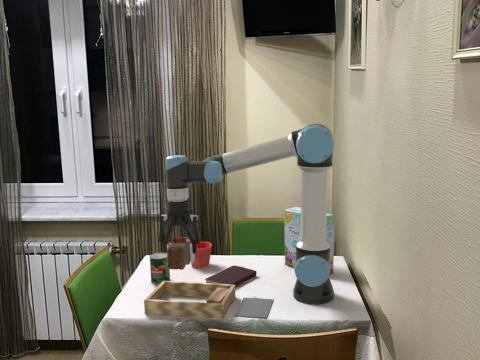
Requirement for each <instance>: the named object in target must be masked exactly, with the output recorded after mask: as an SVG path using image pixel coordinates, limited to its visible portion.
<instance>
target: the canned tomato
mask: <svg viewBox="0 0 480 360" xmlns="http://www.w3.org/2000/svg"><path fill="white" fill-rule="evenodd" d="M149 266H150V267H149V268H150V269H149V270H150V283H151V284H152V285H159V284H160V283H161V282H162V281H171V269H169V268H168V264H167V253H165V252H155V253H151V254H150V255H149Z"/></svg>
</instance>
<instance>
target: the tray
mask: <svg viewBox="0 0 480 360" xmlns="http://www.w3.org/2000/svg"><path fill="white" fill-rule="evenodd" d="M217 288H227V289H229V290H228V292H227V294H226V295H225V297H224V299H223V300H222V302H221V304H218V303H207V302H201V301H200V302H198V301H183V300H167V299H163V298H164V297H165V296H166V295H169V296H170V295H171V296H185V297H186V296H190V297H203V298H204V297H205V298H209V297H210V296H211V295H212V294H213V292H214V291H215V290H216V289H217ZM235 299H236V287H235V285H233V284H215V283H206V282H197V281H196V282H194V281H193V282H192V281H175V280H170V281H162V282H161V283H160V284H157V286H156V287H155V288H154V290H152V292H150V294H148V296H147V297H146V298H145V299H143V305H144V307H143V308H144V314H145V315H155V316H156V315H157V316H169V317H170V316H173V317H187V318H201V319H216V320H224V319H225V318H226V316H227V313H228V312H229V310H230V308H231V307H232V305H233V303H234V301H235ZM231 304H232V305H231Z"/></svg>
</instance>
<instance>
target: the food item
mask: <svg viewBox="0 0 480 360" xmlns="http://www.w3.org/2000/svg"><path fill="white" fill-rule="evenodd" d="M191 244H192V243H191V241H190V239H189V237H185V236H179V237H174V238H173V239H172V242H171V245H170V246H169V247H168V248H167V264H168V268H169V269H170V270H181V271H182V270H185V268H186V266H188V265H190V264H191V260H190V245H191Z"/></svg>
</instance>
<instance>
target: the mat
mask: <svg viewBox="0 0 480 360" xmlns="http://www.w3.org/2000/svg"><path fill="white" fill-rule="evenodd" d="M273 301H274V298H273V299H272V298H260V297H259V298H257V297H243V298H242V300H241V302H240V304H239V306H238V308H237V309H236V312H235V313H234V317H236V318H237V317H240V318H251V319H252V318H253V319H265V318H266V319H267V318H268V316H269V313H270V310H271V307H272V304H273ZM268 312H269V313H268Z"/></svg>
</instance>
